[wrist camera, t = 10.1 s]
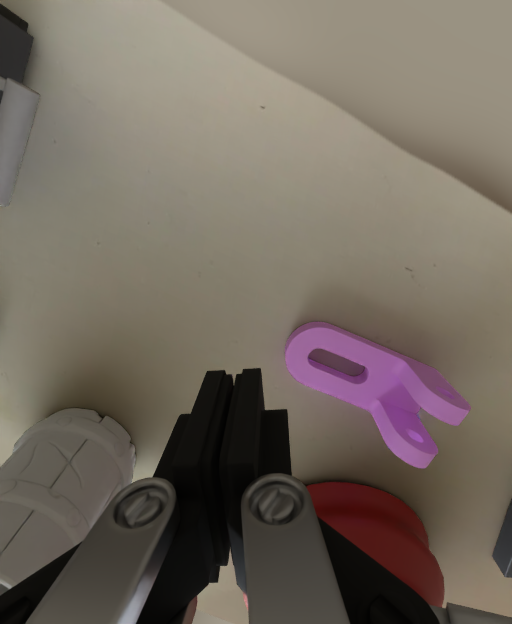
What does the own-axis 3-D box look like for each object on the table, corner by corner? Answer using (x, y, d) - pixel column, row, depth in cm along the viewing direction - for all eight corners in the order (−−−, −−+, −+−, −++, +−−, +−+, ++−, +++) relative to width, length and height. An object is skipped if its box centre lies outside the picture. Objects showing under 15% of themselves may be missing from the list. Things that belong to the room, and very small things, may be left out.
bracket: (435, 368, 30) (481, 417, 23) (402, 417, 32) (436, 475, 25) (301, 311, 29) (310, 345, 22) (274, 365, 30) (275, 411, 24)
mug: (49, 384, 32) (-183, 580, 16) (211, 456, 34) (155, 698, 18) (20, 465, 36) (-195, 696, 19) (170, 527, 37) (90, 785, 21)
